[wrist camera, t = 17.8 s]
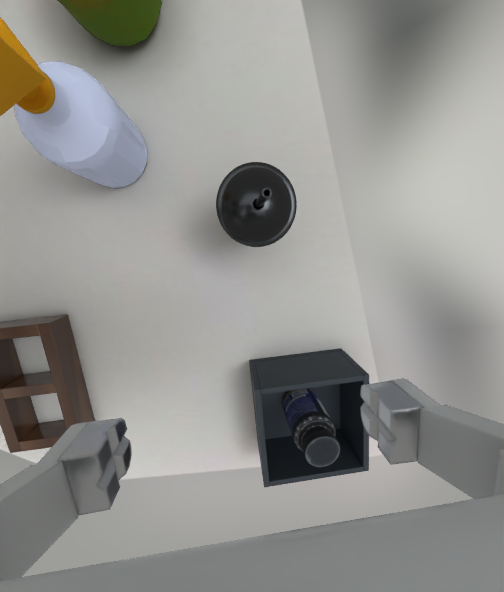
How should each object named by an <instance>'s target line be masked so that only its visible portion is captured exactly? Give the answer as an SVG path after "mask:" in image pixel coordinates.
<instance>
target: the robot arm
mask: <svg viewBox="0 0 504 592" xmlns="http://www.w3.org/2000/svg"><path fill="white" fill-rule="evenodd" d="M360 396H361V398H362V399H363V400H364V403H363V404H362V406H361V407H360V409H361V419H362V422H363V426H364V428H365V430H366V431H367V433H368V434H369V436H370V437H372V438H373V439H375V440H377V441H378V448H379V450H380V451H381V452H382V454H383V455H384V456H385V458H386V459H387V460H388V462H389V463H390V464H399V463H407V462H415V461H418V463H419V464H421V465H422V466H424V467H425V468H427V469H429V470H430V471H432V472H433V473H435V474H436V475H438V476H439V477H441V478H442V479H444V480H446V481H447V482H449V483H450V484H452V485H453V486H455V487H456V488H458V489H459V490H461V491H463V492H464V493H466V494H467V495H469V496H470V497H472V498H473V499H471V500H466V501H460V502H454V503H449V504H443V505H437V506H432V507H426V508H420V509H415V510H409V511H403V512H397V513H392V514H385V515H379V516H373V517H368V518H362V519H356V520H350V521H344V522H338V523H333V524H327V525H321V526H316V527H310V528H303V529H297V530H292V531H286V532H280V533H274V534H269V535H263V536H257V537H252V538H246V539H240V540H235V541H229V542H223V543H217V544H211V545H205V546H200V547H194V548H188V549H182V550H177V551H171V552H165V553H159V554H153V555H148V556H142V557H136V558H130V559H125V560H119V561H113V562H107V563H101V564H96V565H90V566H84V567H78V568H72V569H67V570H61V571H55V572H49V573H44V574H38V575H32V576H26V577H22V575H24V574H25V573H26V572H27V570H28V569H29V568H30V567H31V566H32V565H33V564H34V563H35V562H36V561H37V560H38V559H39V558H40V557H41V556H42V555H43V554H44V553H45V552H46V551H47V550H48V548H50V546H51V545H52V544H53V543H54V542H55V541H56V540H57V539H58V538H59V537H60V536H61V535H62V534H63V533H64V532H65V531H66V530H67V529H68V528H69V527H70V525H72V524H73V522H74V521H75V520H76V519H77V518H78V515H83V514H88V513H93V512H99V511H104V510H109V509H110V508H111V506H112V504H113V501H114V499H115V497H116V495H117V493H118V491H119V488H120V485H119V480H120V479H121V478H122V477H123V476H124V475H125V474H126V473H127V470H128V468H129V466H130V460H131V444H130V440H128V439H127V438H126V437H125V436H124V434H125V432H126V430H127V427H126V423H125V420H124V419H122V418H118V419H109V420H100V421H92V422H84V423H77V424H74V425H71V426H70V427H69V428H68V429H67V431H66V432H65V433H64V434H63V435H62V436H61V437H60V439H59V440H58V441H57V442H56V443H55V444H54V445H53V447H52V448H51V449H50V450H49V451H48V452H47V453H46V454H45V456H44V457H43V458H42V459H41V460H40V461H39V462H38V464H37V465H31V466H29V467H28V468H26V469H24V470H23V471H21V472H20V473H18V474H16V475H15V476H13V477H12V478H10V479H8V480H7V481H5V482H4V483H2V484H0V592H504V424H502V423H499V422H496V421H493V420H490V419H486V418H484V417H480V416H478V415H475V414H472V413H469V412H466V411H463V410H460V409H457V408H454V407H451V406H448V405H440V404H439V403H437V402H436V401H435V400H433V399H432V398H431V397H429V396H428V395H426V393H424V392H423V391H422V390H420V389H419V388H418V387H416V386H415V385H414V384H412V383H411V382H410V381H408V380H407V379H403V378H402V379H396V380H391V381H386V382H380V383H373V384H367V385H362V386H361V389H360Z"/></svg>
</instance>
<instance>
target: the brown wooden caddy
mask: <svg viewBox="0 0 504 592" xmlns="http://www.w3.org/2000/svg"><path fill="white" fill-rule="evenodd" d="M39 335H40V336H41V340H42V343H43V347H44V350H45V354H46V357H47V361H48V364H49V368H50V372H42V373H34V374H26V375H23V373H22V370H21V366H20V363H19V360H18V357H17V354H16V350H15V347H14V344H13V341H12V339H13V338H21V337H30V336H39ZM56 392H57V396H58V399H59V403H60V406H61V410H62V413H63V417H64V420H60V421H52V422H45V423H38V421H37V418H36V415H35V411H34V408H33V405H32V402H31V398H30V396H33V395H41V394H49V393H56ZM92 421H95V419H94V416H93V412H92V408H91V404H90V400H89V396H88V392H87V388H86V384H85V380H84V377H83V373H82V369H81V365H80V361H79V357H78V353H77V349H76V345H75V341H74V338H73V334H72V330H71V326H70V322H69V318H68V315H60V316H51V317H42V318H33V319H24V320H15V321H6V322H0V425H1V427H2V430H3V433H4V436H5V439H6V442H7V445H8V448H9V450H10V453H13V452H20V451H27V450H34V449H42V448H49V447H53V445H54V444H55V443H56V442H57V441H58V440H59V439H60V437H61V436H62V435H63V434H64V433H65V432H66V431H67V429H68V428H69V427H70V426H71V425H74V424H77V423H84V422H92Z"/></svg>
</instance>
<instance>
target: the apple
mask: <svg viewBox="0 0 504 592" xmlns="http://www.w3.org/2000/svg"><path fill="white" fill-rule="evenodd" d="M58 1H59V2H60V3H61V4H62V5H63V6H64V7H65V8H66V9H67V10H68V11H69V12H70V13H71V14H72V15H73V17H74V18H75V19H76V20H77V21H78V22H79V23H80V24H81V25H82V26H83V27H84V28H85V29H86V30H88V31H89V32H90V33H91V34H92V35H93V36H94V37H96V38H98V39H100V40H102V41H104V42H107V43H109V44H111V45H116V46H132V45H134V44H136V43H138V42H140V41H142V40H145V39H146V38H147V37H148V35H149V34H150V32H151V31H152V29H153V28H154V26H155V25H156V23H157V20H158V16H159V12H160V8H161V4H162V3H161V0H58Z"/></svg>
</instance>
